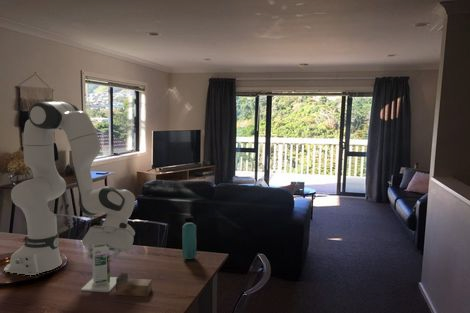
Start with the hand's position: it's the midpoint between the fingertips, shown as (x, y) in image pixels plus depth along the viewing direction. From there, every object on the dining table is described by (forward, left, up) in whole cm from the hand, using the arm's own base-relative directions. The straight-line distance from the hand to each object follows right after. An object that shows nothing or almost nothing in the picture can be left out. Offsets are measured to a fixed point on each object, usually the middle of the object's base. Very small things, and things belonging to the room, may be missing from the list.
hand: (99, 259), depth 140 cm
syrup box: (0, +1, -9) cm, 9 cm away
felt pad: (0, +1, -10) cm, 10 cm away
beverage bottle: (+29, +29, -11) cm, 42 cm away
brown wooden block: (+15, -4, -10) cm, 18 cm away
